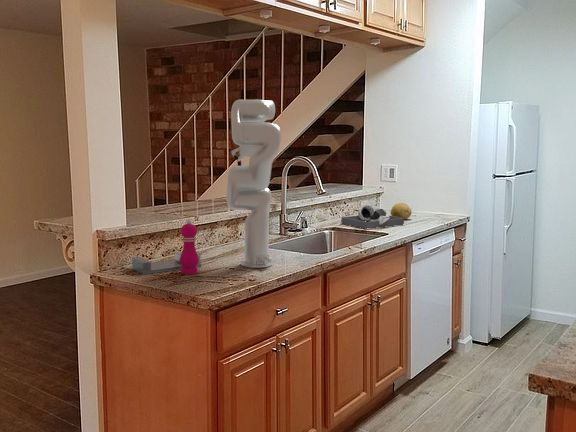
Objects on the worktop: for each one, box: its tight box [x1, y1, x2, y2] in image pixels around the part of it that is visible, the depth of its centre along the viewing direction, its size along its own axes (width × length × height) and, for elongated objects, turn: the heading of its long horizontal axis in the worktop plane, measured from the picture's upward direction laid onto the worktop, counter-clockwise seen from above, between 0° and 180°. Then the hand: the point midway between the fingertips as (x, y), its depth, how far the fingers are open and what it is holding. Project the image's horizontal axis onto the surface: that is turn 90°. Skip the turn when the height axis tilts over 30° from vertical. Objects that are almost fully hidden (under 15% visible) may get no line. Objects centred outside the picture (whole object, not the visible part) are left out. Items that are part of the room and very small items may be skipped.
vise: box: [131, 256, 203, 276], centre depth 229 cm, size 11×24×4 cm, turn 126°
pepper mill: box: [180, 219, 199, 275], centre depth 221 cm, size 7×7×20 cm
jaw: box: [173, 251, 201, 263], centre depth 234 cm, size 9×7×3 cm
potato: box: [390, 202, 413, 220], centre depth 360 cm, size 10×12×10 cm
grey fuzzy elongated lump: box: [357, 205, 391, 225], centre depth 337 cm, size 25×10×10 cm, turn 26°
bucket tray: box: [340, 215, 405, 230], centre depth 339 cm, size 21×29×4 cm
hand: (251, 170), depth 257 cm, fingers open, 9 cm apart
